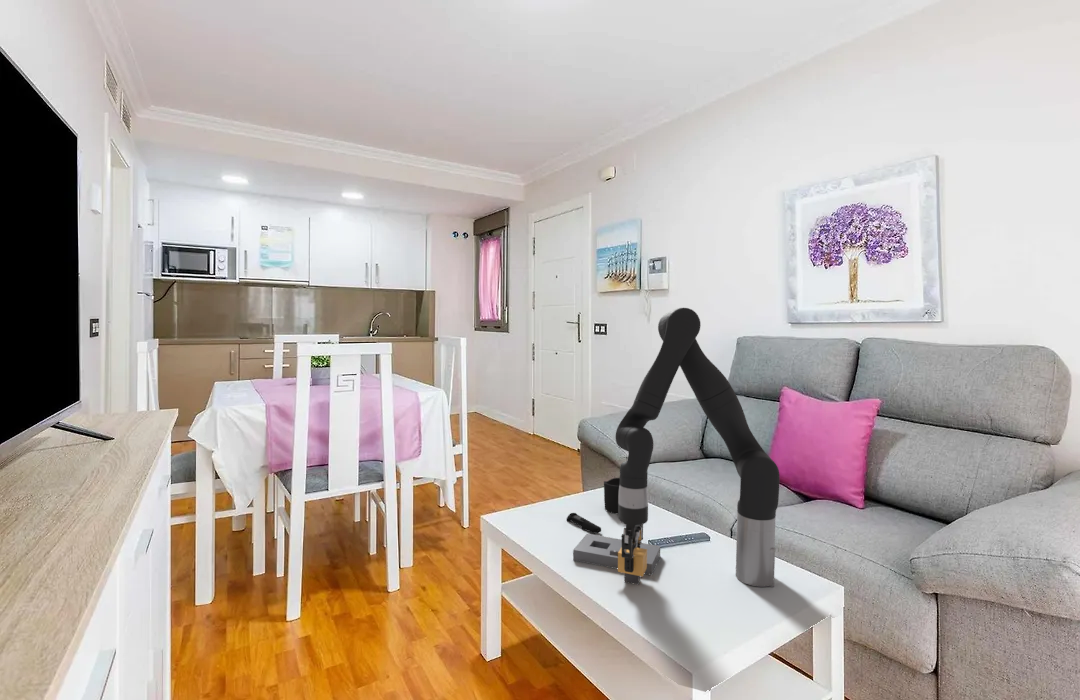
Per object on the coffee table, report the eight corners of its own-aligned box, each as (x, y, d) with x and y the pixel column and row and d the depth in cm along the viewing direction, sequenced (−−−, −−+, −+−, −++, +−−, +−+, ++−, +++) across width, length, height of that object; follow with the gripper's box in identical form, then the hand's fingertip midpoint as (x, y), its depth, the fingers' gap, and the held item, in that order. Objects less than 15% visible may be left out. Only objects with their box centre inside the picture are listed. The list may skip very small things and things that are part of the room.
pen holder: (632, 514, 182) (632, 486, 181) (605, 514, 181) (605, 486, 181) (627, 504, 191) (627, 477, 190) (601, 504, 191) (602, 477, 190)
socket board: (660, 556, 150) (660, 543, 149) (651, 575, 138) (651, 561, 138) (586, 543, 158) (586, 530, 158) (573, 560, 147) (573, 546, 147)
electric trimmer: (594, 538, 163) (594, 528, 163) (565, 521, 176) (565, 512, 176) (604, 535, 165) (604, 525, 165) (574, 519, 178) (574, 509, 178)
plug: (646, 579, 137) (647, 549, 136) (642, 588, 132) (642, 557, 131) (612, 572, 140) (613, 543, 140) (607, 580, 136) (607, 550, 135)
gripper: (641, 514, 126) (640, 580, 127) (653, 495, 139) (652, 556, 140) (611, 509, 129) (610, 574, 130) (625, 491, 142) (625, 551, 143)
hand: (632, 564), depth 135 cm, fingers open, 7 cm apart
